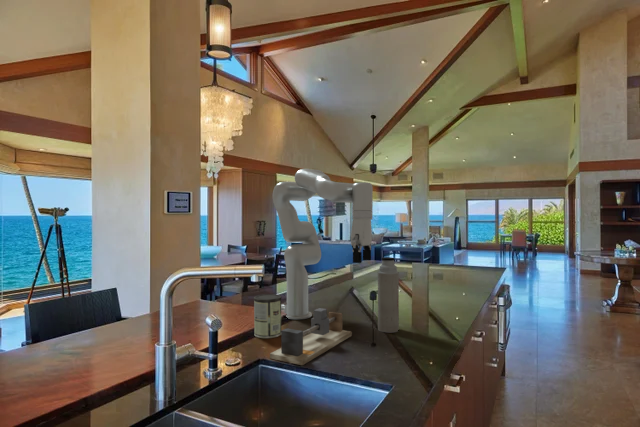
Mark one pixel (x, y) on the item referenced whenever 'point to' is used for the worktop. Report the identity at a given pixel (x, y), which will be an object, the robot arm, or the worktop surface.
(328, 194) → the robot arm
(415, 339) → the worktop surface
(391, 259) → the thermos bottle
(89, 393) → the worktop surface
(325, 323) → the sleeve
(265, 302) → the coffee can
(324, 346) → the rail
